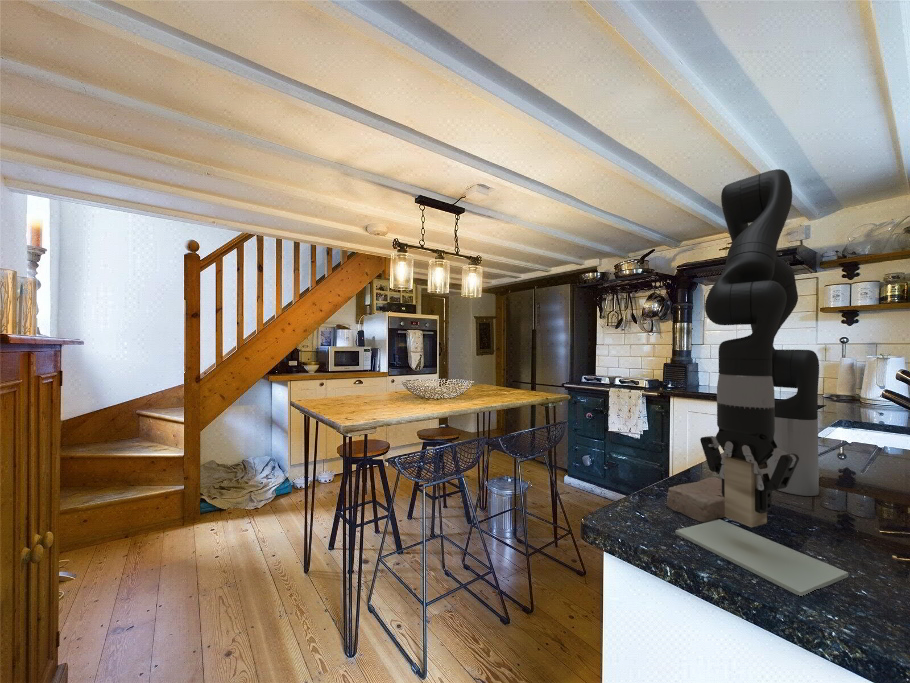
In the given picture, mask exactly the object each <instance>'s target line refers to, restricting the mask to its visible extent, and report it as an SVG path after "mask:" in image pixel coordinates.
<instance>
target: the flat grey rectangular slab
mask: <svg viewBox="0 0 910 683" xmlns="http://www.w3.org/2000/svg"><path fill="white" fill-rule="evenodd" d="M675 535H677V536H679V537H681V538H683V539H685V540H687V541H688V542H691V543H693V544H695V545H697V546H699V547H701V548H703V549H705V550H706V551H708V552H709V551H710V552H711V553H713V554H714V555H717V556H719V557H721V558H723V559H725V560H727V561H729V562H731V563H733V564H735V565H736V566H739V567H741V568H742V569H744V570H747V571H748V572H751V573H753V574H755V575H757V576H759V577H760V578H762V579H765V580H767V581H769V582H770V583H772V584H774V585H776V586H779V587H780V588H782V589H785V590H786V591H789V592H790V593H793V594H795V595H796V596H798V595H799V597H800V596H802V597H804V596H807V595H808V593H809V594H811V593H810V592H812V591H814V590H816V589H819V590H820V588H821V589H823V588H826V587H827V586H830V585H833V584H835V583H837V582H840V581H842V580H845V579H846V578H849V572H848V571H845V570H843V569H840V568H839V567H838V568H837V567H836V566H833V565H831V564H828V563H826V562H824V561H822V560H819V559H817V558H814V557H812V556H809V555H807V554H804V553H802V552H799V551H797V550H794V549H793V548H791V547H788V546H785V545H783V544H780V543H778V542H775V541H773V540H772V539H768V538H766V537H764V536H761V535H759V534H756V533H754V532H751V531H749V530H746V529H744V528H742V527H739V526H737V525H736V524H733V523H730V522H727V521H725V520H722V519H721V518H718V519H716V520H713V521H708V522H702V523H700V524H696V525H691V526H687V527H684V528H680V529H676V530H675ZM816 591H817V590H816ZM814 592H815V591H814ZM812 593H813V592H812ZM806 594H807V595H806ZM803 595H804V596H803Z"/></svg>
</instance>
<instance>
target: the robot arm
mask: <svg viewBox="0 0 910 683" xmlns="http://www.w3.org/2000/svg"><path fill="white" fill-rule="evenodd" d="M720 196H721V197H720V198H721V199H720V202H721V208H722V214H723V217H724V220H725V223H726V227H727V230H728V233H729V236H730V239H731V244H730V247H729V248H728V251H727V255H726V260H725V267H724V269H723V271H722V272H721V274H720V276H719V277H718V278H717V280H716V281H715V282H714V284H713V285H712V287H711V289H709V291H708V294H707V296H706V299H705V303H704V310H705V314H706V317H707V318H708V320H710V322H712V323H713V324H715V325H718V326H739V325H740V326H744V325H745V326H747V325H748V326H749V325H750V328H751V333H750V334H749V335H747V336H743V337H737V338H733V339H732V338H731V339H727V340H723V341H722V342H720V344H719V346H718V376H717V377H718V379H717V386H716V425H717V427H718V431H717V433H716V435H714V436H712V435H709V436H708V435H707V436H702V437H700V439H699V440H700V444H701V447H702V450H703V453H704V457H705V460H706V463H707V466H708V469H709V471H710V472H712V473H716V474H717V475H719V476H720V478H721V479H722V495H723V497H725V472H724V457H730V458H732V457H737V458H741V459H745V460H746V461H747V462H749V463H752V466H753V467H752V472H753V474H754V478H755V486H756V488H757V489H755V511H756V512H758V513H760V514H762V513H766V512H767V513H768V512H769V511H771V509H772V506H773V500H772V498H773V497H772V493H773V491H780V492H783V493H788V494H791V495H797V496H805V497H809V496H810V497H815V496H816V497H817V496H818V495H819V494H820V490H819V487H820V486H819V485H820V484H819V483H820V482H819V471H820V470H819V422H818V421H819V420H818V419H819V418H818V417H819V413H818V412H819V411H818V409H819V407H818V406H819V404H818V403H819V401H818V400H819V398H818V397H819V396H818V395H819V394H818V393H819V378H820V362H819V360H820V359H819V358H818V355H817V353H816V352H815V351H814V350H811V349H776V348H775V347H774V343H775V342H774V341H775V338H776V336H777V334H778V332H779V330H780V328H781V327H782V326H783V324H784V323H785V322H786V320H788V318H789V317H790V315H791V314H792V313H793V311H794V310H795V308H796V306H797V304H798V301H799V294H798V288H797V283H796V282H797V281H796V276H795V272H794V271H793V269H792V268H791V267H790V265H788V264H787V262H785V261H784V260H783V259H782V258H780V257H779V256H777V248H778V244H779V240H780V238H781V237H780V236H781V235H782V232H783V230H784V227H785V225H786V222H787V219H788V215H789V214H790V211H791V207H792V204H793V202H792V201H793V188H792V182H791V179H790V176H789V174H788V173H787V171H786V170H784V169H781V168H779V169H773V170H768V171H764V172H761V173H757V174H754V175H753V176H748V177H745V178H742V179H740V180H737V181H733V182H730V183H728V184H726V185H724V187H723V188H722V191H721V194H720ZM775 388H783V389H784V388H786V389H797V390H796V393H795V394H794V395H792V396H790V397H788V398H786V399H785V398H784V399H781V400H780V399H779V400H775ZM719 448H721V449H722V450H723V454H722V453H721V451H720V449H719ZM721 454H722V455H721ZM763 464H764V466H763V468H760V469H759V467H758V466H760V465H763Z"/></svg>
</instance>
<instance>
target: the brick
mask: <svg viewBox="0 0 910 683" xmlns="http://www.w3.org/2000/svg"><path fill="white" fill-rule="evenodd" d="M666 505H667V508H669V509H671V510H673V511H675V512H678V513H680V514H683V515H685V516H687V517H689V518H690V519H693V520H695V521H697V522H699V523H707V522H711V521H714V520H718V519H723V518H726V517H725V497H723V495H722V478H721V479H720V478H718V477H715V476H714V477H707V478H703V479H701V480H698V481H697V482H690V483H689V482H688V483H683V484H678V485H674V486H670V487H668V491H667V500H666Z"/></svg>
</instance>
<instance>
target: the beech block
mask: <svg viewBox="0 0 910 683" xmlns="http://www.w3.org/2000/svg"><path fill="white" fill-rule="evenodd" d="M763 466H764V464H763V465H760V466H758V467H759V469H760V468H763ZM752 467H753V466H752V463H749V462H747V461H746V460H745V459H741V458H737V457H732V458H730V457H724V472H725V517H724V518H727V519H730V520H732V521H734V522H737V523H740V524H741V525H744V526H747V527H750V528H754V527H757V526H758V527H759V526H762V525H766V524H768V511H767V512H766V513H762V514H760V513H758V512H756V511H755V489H757V488H756V486H755V478H754V474H753V472H752Z"/></svg>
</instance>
